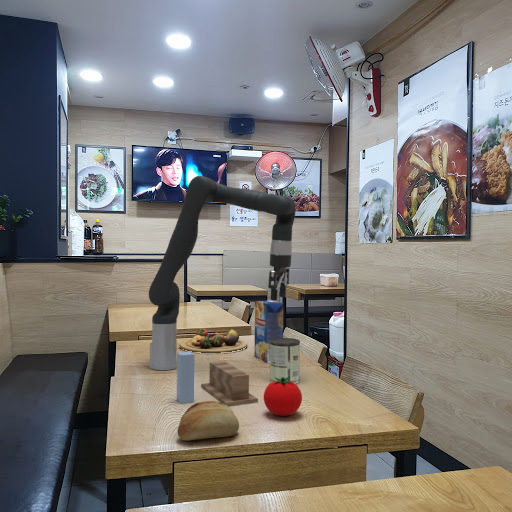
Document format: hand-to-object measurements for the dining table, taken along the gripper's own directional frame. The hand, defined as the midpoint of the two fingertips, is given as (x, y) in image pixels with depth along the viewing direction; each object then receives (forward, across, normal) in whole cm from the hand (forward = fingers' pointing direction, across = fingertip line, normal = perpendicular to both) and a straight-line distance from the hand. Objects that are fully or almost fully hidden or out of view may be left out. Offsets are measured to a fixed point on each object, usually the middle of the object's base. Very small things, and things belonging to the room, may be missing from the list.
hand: (278, 298), depth 166 cm
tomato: (+25, +38, +17) cm, 48 cm away
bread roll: (+24, +60, +6) cm, 65 cm away
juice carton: (+31, -24, -12) cm, 41 cm away
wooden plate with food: (+34, -38, -45) cm, 68 cm away
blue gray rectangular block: (+27, +38, -13) cm, 49 cm away
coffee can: (+28, +5, +6) cm, 29 cm away
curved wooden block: (+27, +27, -5) cm, 38 cm away
